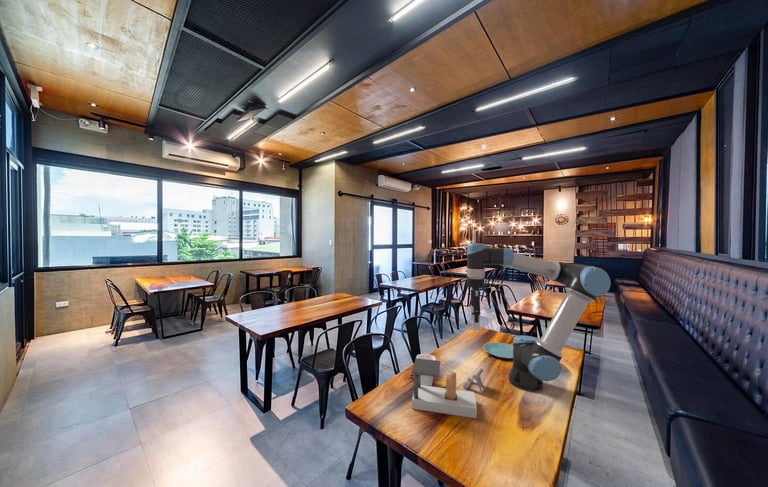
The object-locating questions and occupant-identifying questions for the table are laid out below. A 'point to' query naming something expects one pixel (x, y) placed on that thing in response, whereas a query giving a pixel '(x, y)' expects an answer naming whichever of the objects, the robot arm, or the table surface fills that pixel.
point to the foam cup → (424, 379)
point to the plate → (499, 350)
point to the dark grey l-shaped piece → (424, 372)
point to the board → (445, 402)
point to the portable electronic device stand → (478, 379)
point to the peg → (451, 386)
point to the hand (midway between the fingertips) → (474, 324)
